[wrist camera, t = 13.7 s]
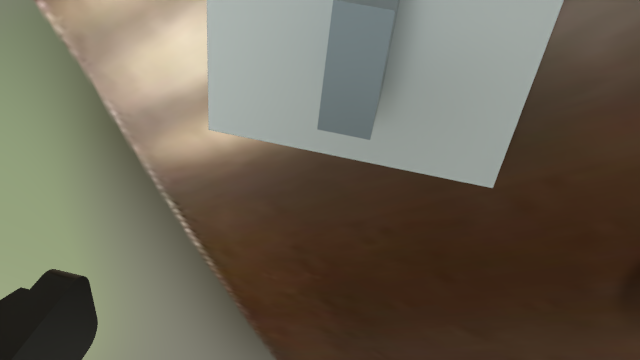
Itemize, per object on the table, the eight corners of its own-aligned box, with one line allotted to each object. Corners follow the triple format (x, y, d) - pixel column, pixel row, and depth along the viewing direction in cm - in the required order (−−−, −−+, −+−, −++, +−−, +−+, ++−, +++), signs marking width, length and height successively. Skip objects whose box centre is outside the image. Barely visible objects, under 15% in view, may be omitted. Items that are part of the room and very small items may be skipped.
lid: (591, -113, 24) (638, -86, 18) (490, 165, 32) (499, 245, 26) (223, -167, 25) (152, -160, 19) (222, 111, 34) (173, 176, 28)
